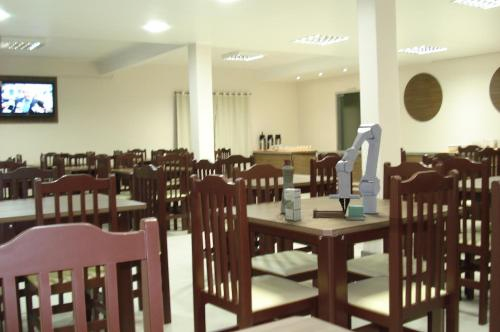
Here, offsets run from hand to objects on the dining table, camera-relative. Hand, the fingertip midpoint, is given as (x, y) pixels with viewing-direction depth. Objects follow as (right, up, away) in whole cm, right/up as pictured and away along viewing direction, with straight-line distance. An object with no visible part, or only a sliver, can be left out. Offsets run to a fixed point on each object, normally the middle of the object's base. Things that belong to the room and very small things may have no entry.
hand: (344, 214), depth 258 cm
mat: (+3, -2, -9) cm, 10 cm away
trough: (-7, -1, +1) cm, 7 cm away
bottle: (-26, -1, +16) cm, 30 cm away
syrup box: (-25, -2, -7) cm, 26 cm away
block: (+5, -1, -1) cm, 5 cm away
